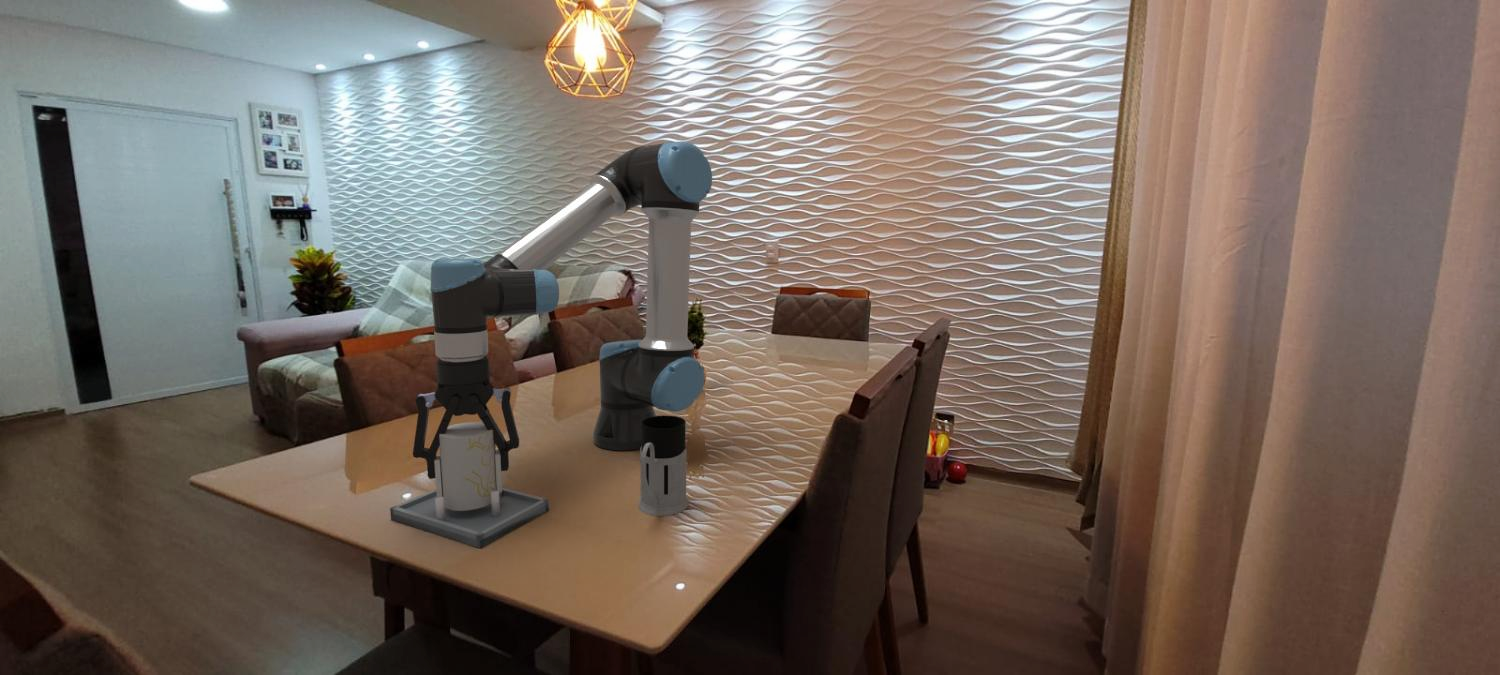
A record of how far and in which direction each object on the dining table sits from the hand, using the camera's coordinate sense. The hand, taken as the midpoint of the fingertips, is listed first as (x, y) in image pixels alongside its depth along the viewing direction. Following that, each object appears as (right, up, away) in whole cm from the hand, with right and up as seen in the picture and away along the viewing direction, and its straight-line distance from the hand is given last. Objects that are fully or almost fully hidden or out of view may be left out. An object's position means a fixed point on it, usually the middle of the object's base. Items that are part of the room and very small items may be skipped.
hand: (470, 492), depth 97 cm
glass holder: (+30, -4, +3) cm, 31 cm away
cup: (0, -1, 0) cm, 1 cm away
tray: (0, -4, +1) cm, 4 cm away
